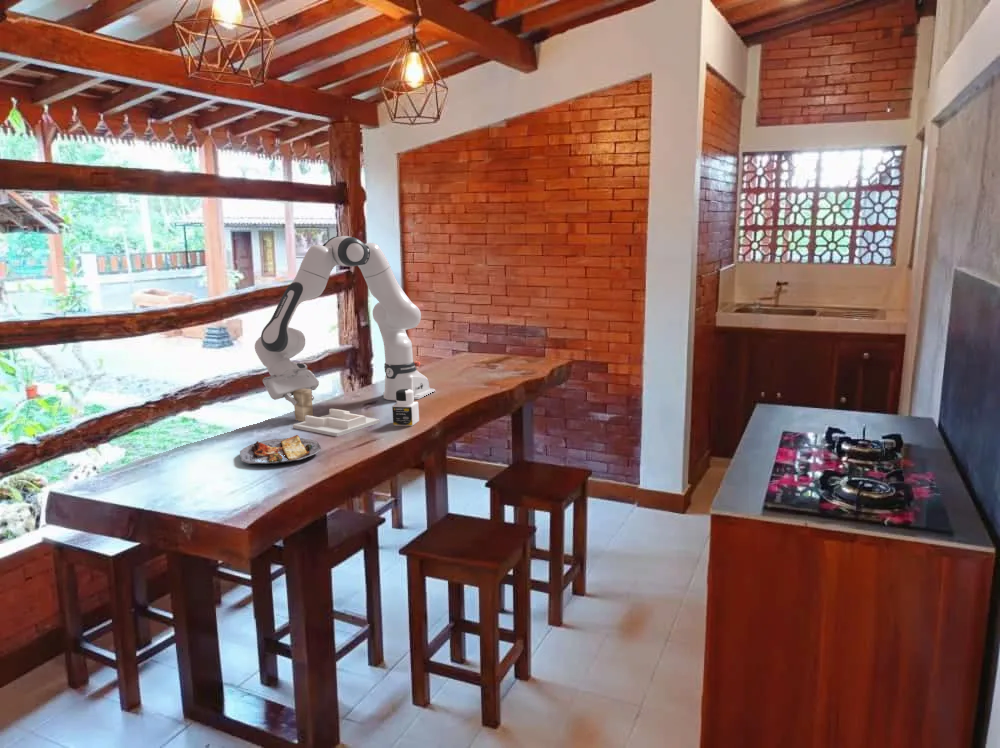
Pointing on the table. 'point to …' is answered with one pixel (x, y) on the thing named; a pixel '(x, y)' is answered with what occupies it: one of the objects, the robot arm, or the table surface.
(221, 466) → the table surface
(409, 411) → the medicine bottle
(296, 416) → the beech peg
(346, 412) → the keyhole dock
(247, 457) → the food plate
